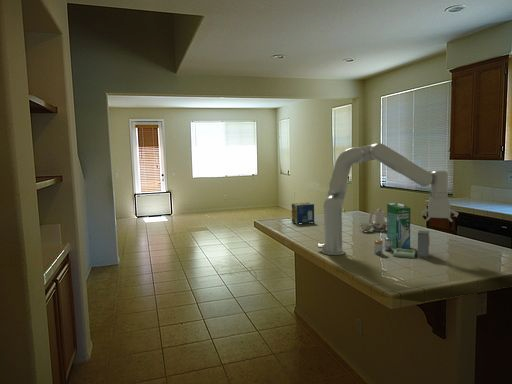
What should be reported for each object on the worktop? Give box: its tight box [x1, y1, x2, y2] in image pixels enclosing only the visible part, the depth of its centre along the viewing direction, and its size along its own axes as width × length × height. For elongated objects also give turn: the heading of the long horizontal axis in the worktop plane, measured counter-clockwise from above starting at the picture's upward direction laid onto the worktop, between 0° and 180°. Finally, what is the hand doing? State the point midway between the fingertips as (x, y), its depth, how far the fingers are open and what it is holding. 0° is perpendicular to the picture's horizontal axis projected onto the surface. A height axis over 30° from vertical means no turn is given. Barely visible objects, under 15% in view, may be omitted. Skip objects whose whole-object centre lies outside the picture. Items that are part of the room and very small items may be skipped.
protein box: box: [291, 202, 315, 225], centre depth 304 cm, size 10×15×16 cm
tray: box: [393, 248, 417, 259], centre depth 201 cm, size 10×10×2 cm
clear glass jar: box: [384, 236, 393, 252], centre depth 211 cm, size 4×4×7 cm
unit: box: [417, 230, 431, 259], centre depth 197 cm, size 5×7×13 cm
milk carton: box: [386, 201, 411, 250], centre depth 218 cm, size 9×9×25 cm
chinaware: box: [358, 207, 387, 232], centre depth 262 cm, size 28×17×17 cm, turn 76°
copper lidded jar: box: [374, 239, 384, 256], centre depth 204 cm, size 4×4×7 cm
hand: (439, 228), depth 193 cm, fingers open, 9 cm apart
